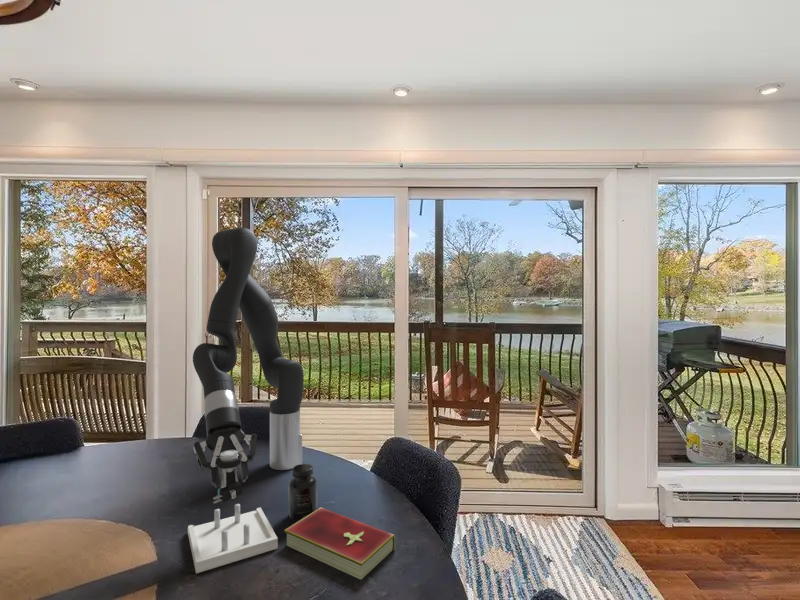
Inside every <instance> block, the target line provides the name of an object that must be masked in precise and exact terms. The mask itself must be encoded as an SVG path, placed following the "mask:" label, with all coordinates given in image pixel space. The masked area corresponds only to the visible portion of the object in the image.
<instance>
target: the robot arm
mask: <svg viewBox="0 0 800 600" xmlns="http://www.w3.org/2000/svg"><path fill="white" fill-rule="evenodd" d="M211 247H212V251H213V254H214V256H215V259H216V261H217V262H218V264H219V266H220V269H221V270H222V272H223V274H224V275H225V278H224V280H223V281H222V283H221V285H220V286H219V288H218V290H217V291H216V292H215V294H214V296H213V298H212V299H213V300H212V301H211V305H210V308H209V311H208V319H207V322H206V323H207V324H206V332H207V333H208V334H209V335H211V336H214V337H216V338H218V339H219V341H220V344H217V343H209V342H204V343H200V344H198V345H197V346H196V348H195V349H194V350H193V354H192V364H193V367H194V370H195V372H196V374H197V376H198V378H199V381H200V383H201V385H202V387H203V397H204V398H203V399H204V406H203V407H204V418H205V419H204V420H205V427H206V429H205V430H206V438H205V440H204V441H200V442H199V441H195V442H194V444H193V448H192V452H193V453H194V456H195V459H196V461H197V464H198V467H199V470H200V471H203V472H204V471H208V472H209V474H210V475H209V476H210V483H211V486H212V487H213V486H214V488H215V489H219V488H220V486H221V484H220V483H221V482H220V476H219V475H220V474H219V473H220V472H219V467H218V466H217V462H216V458H219V456H220V454H221V453H222V452H223V451H227V450H236V451H238V454H241V455H242V459H241V464H239V473H240V479H241V483H246V480H248V479H249V475H250V472H249V465H248V464H249V463H252V462H254V458H255V457H256V450H257V448H256V447H257V439H258V434H257V433H256V432H255V433H252V434H246V433H245V432H244V431H243V429H242V422H241V416H240V409H239V403H238V399H237V397H236V390H235V384H234V379H233V377H232V375H231V374H230V372H231V371H232V370H233V369H234V368H235V366H236V364H237V361H238V352H237V344H236V343H237V342H236V326H237V325H236V324H237V321H238V320H237V319H238V313H239V310H240V313H241V315H242V318H243V320H244V323H245V325H246V327H247V329H248V331H249V334H250V337H251V339H252V342H253V344H254V347H255V350H256V352H257V354H258V359H259V362H260V366H261V369H262V373H263V377H264V379H265V381H266V382H267V384H269V385H270V386H271V387H272V388H273V387H274V388H277V398H276V399H272V400H271V401H270V403H269V467H270V468H271V469H273V470H275V471H276V470H277V471H287V470H293V467H295V466H297V465H300V464H303V434H302V433H301V404H302V401H303V396H304V378H305V377H304V375H305V374H304V370H303V366H302V364H301V363H300V362H298V361H297V360H294V359H288V358H285V357H284V355H283V353H282V351H281V348H280V346H279V342H278V331H279V316H278V313H277V312H276V309H275V305H274V303H273V300H272V298H271V297H270V295H269V294H268V292H267V291H266V290H265V289H264V288H262V286H261V285H260V284H259V283H258V282H257V281H256V280H255V279H254V278H253V277H252V275H251V274H250V272H251V268H252V266H253V264H254V261H255V259H256V255H257V250H258V239H257V237H256V235H255V233H254V232H253V231H252V230H251V229H249V228H247V227H237V228H235V227H234V228H231V229H225V230H220V231H218V232H216V233H215V234H214V235H213V237H212V240H211ZM244 441H245V442H246V444H247V445H248V446H249V447H248V455H246V453H245V451H244V449H243V446H242V444H243V442H244ZM206 447H207V448H208V449H209V450H210V451H211V452H212V453H213V455H212V458H211V459H212V460H211V461H207V458H206V456H205V454H204V452H205V451H206Z"/></svg>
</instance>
